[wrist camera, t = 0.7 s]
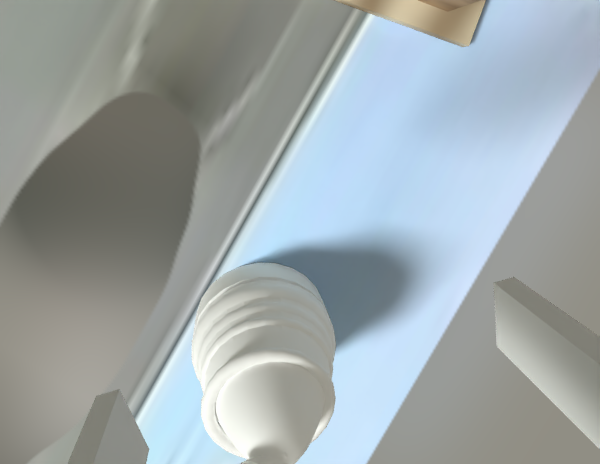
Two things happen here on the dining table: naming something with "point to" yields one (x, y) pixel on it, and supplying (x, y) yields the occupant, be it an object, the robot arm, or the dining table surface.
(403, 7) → the square wooden frame
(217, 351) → the honey pot
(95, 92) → the dining table surface
